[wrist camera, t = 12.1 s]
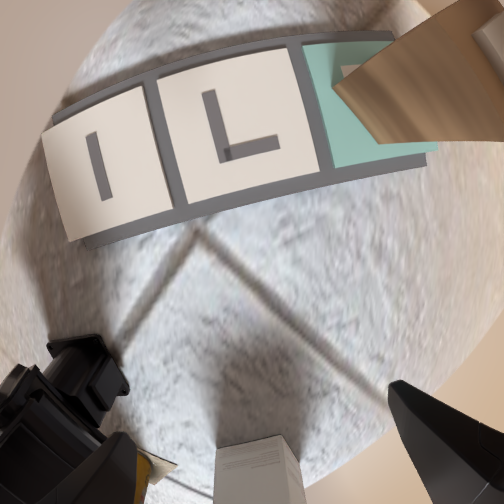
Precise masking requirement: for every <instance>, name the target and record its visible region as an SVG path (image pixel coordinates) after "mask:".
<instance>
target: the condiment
mask: <svg viewBox="0 0 504 504" xmlns="http://www.w3.org/2000/svg"><path fill="white" fill-rule="evenodd" d="M110 436H111V435H110ZM110 436H109V437H110ZM153 463H154V464H153ZM155 465H156V466H155ZM176 467H178V466H177V465H174V464H171V463H169V462H167V461H164V460H161V459H160V458H157V457H155V456H153V455H151V454H149V453H147V452H145V451H143V450H141V449H139V448H137V481H136V492H135V499H134V504H144V500H145V496H146V492H147V487H148V483H151V484H153V485H155V484H157V482H159V481H160V480H161V479H162V478H163V477H165V476H166V475H167V474H168V473H170V472H171V471H172V470H173V469H175V468H176Z"/></svg>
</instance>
